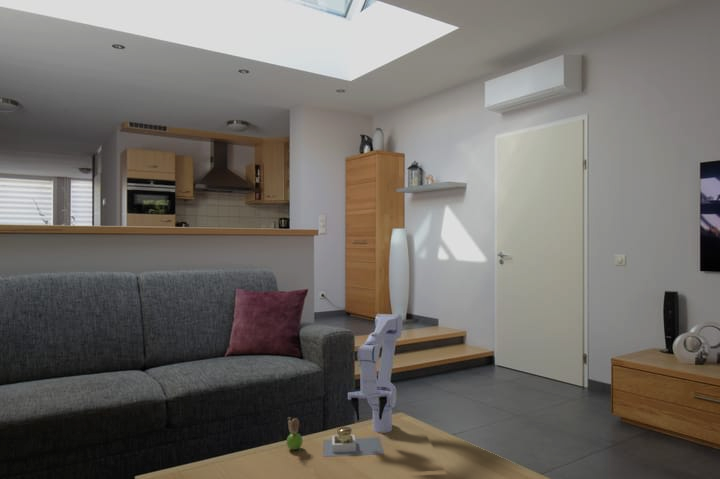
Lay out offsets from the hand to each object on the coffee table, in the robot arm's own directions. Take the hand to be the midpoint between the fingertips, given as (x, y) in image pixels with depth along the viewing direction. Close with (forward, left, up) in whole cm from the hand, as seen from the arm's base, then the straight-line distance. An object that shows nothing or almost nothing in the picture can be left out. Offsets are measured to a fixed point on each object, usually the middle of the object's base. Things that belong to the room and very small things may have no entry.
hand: (369, 419), depth 172 cm
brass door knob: (+2, -9, -8) cm, 12 cm away
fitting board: (+2, -6, -9) cm, 11 cm away
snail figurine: (0, -26, -10) cm, 28 cm away
